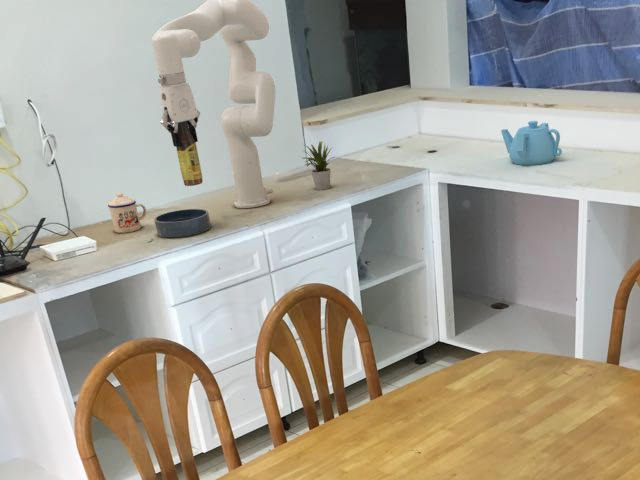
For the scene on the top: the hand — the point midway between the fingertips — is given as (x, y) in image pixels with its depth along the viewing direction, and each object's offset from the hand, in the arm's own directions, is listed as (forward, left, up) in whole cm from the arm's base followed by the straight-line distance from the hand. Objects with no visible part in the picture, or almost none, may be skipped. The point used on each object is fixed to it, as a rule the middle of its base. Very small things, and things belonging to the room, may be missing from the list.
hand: (185, 143), depth 289 cm
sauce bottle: (0, 0, -12) cm, 12 cm away
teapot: (-116, +58, -26) cm, 133 cm away
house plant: (-60, +1, -26) cm, 66 cm away
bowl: (+4, -5, -26) cm, 27 cm away
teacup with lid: (+7, -27, -26) cm, 38 cm away
